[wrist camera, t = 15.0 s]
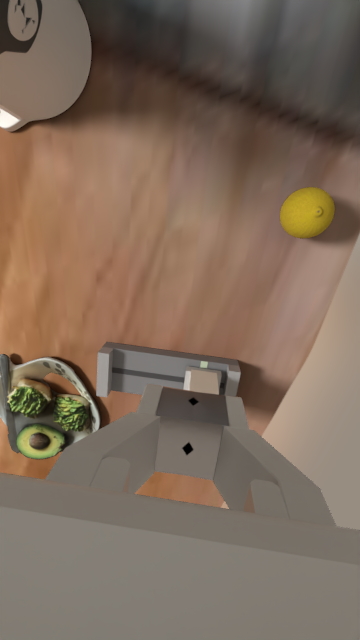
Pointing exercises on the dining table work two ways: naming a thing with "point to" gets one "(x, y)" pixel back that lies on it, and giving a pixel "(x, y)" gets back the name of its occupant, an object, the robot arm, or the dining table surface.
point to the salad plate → (44, 408)
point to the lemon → (307, 212)
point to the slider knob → (202, 380)
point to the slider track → (156, 369)
